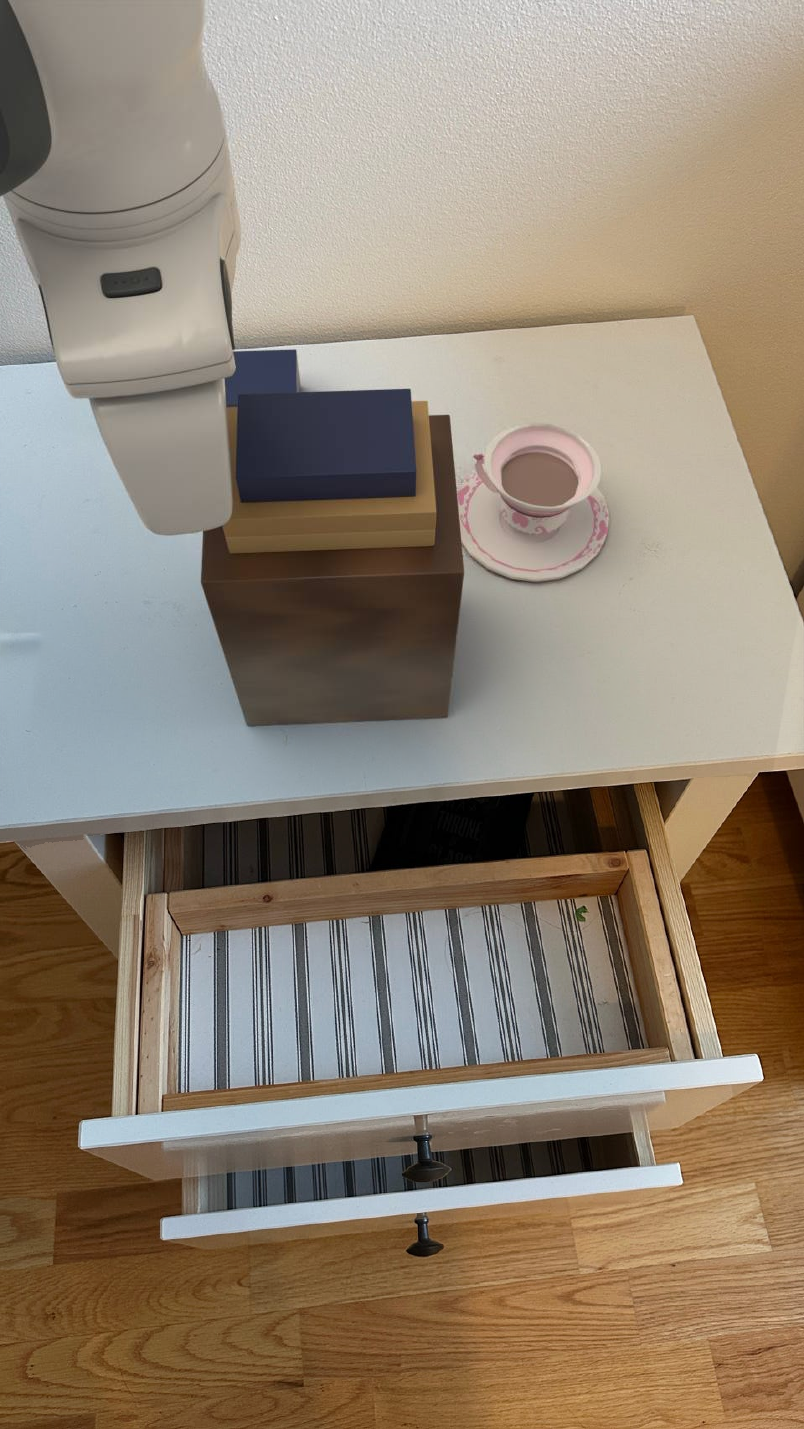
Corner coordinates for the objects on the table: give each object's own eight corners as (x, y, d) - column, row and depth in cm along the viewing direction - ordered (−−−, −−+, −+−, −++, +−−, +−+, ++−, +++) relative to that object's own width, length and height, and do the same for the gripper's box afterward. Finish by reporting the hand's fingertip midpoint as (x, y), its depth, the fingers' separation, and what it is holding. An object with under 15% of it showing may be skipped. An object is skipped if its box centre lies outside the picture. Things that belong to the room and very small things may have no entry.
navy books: (189, 441, 79) (179, 405, 75) (192, 389, 81) (182, 352, 78) (301, 437, 79) (296, 401, 75) (300, 386, 81) (296, 349, 78)
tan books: (229, 554, 52) (220, 519, 50) (232, 445, 56) (224, 407, 53) (434, 546, 53) (436, 512, 50) (425, 438, 56) (427, 400, 53)
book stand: (246, 726, 68) (200, 582, 52) (249, 592, 73) (207, 422, 56) (447, 718, 68) (464, 572, 52) (437, 585, 73) (449, 414, 57)
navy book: (240, 503, 50) (234, 478, 48) (242, 420, 53) (237, 393, 51) (415, 497, 50) (416, 471, 49) (410, 415, 53) (410, 388, 51)
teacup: (622, 479, 77) (640, 424, 72) (588, 601, 72) (604, 553, 67) (476, 442, 79) (482, 386, 73) (433, 560, 74) (436, 509, 68)
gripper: (34, 57, 43) (113, 309, 56) (59, 404, 35) (147, 611, 47) (177, 42, 44) (224, 294, 56) (237, 379, 35) (277, 589, 48)
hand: (189, 441), depth 52 cm, fingers open, 8 cm apart
